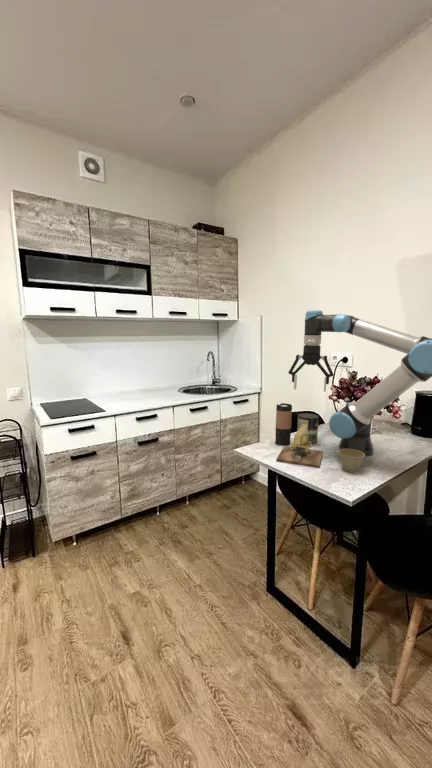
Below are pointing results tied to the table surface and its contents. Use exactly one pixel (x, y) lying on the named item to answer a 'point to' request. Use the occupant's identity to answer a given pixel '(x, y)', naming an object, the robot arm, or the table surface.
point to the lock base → (304, 460)
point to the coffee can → (309, 425)
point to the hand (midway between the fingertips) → (309, 390)
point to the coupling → (301, 439)
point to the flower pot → (351, 459)
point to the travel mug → (283, 424)
